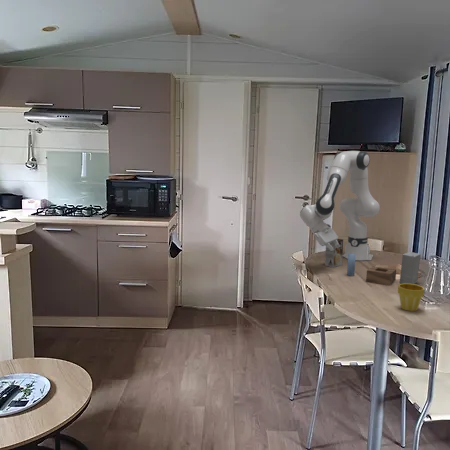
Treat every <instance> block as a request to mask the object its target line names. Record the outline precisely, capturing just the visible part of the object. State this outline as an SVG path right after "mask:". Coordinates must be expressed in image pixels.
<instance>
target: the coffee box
mask: <svg viewBox="0 0 450 450" xmlns="http://www.w3.org/2000/svg"><path fill="white" fill-rule="evenodd" d="M337 241H338V243H339V245H340V247H339V248H337V247H336V245H335V244H334V243H333V242H332V243H330V245H331V246H333V248H334V250H333V251H331V250H330V249H329V248H327V247H326V246H325V259H324V266H326V267H330V268H337V267H340V266H343V256H342V255H344V254H343V252H344V251H343V249H344V239H341V238H338V239H337Z"/></svg>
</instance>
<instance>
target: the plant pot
mask: <svg viewBox="0 0 450 450" xmlns="http://www.w3.org/2000/svg"><path fill="white" fill-rule="evenodd" d="M397 293H398V296H399V302H400V308H401V309H402V310H405V311H409V312H416V311H418V309H419V305H420V303H421V301H422V298H423V297H424V295H425V287H423V286H422V285H419V284H417V283H415V284H408V283H400V284H398V287H397Z"/></svg>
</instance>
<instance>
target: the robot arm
mask: <svg viewBox="0 0 450 450" xmlns="http://www.w3.org/2000/svg"><path fill="white" fill-rule="evenodd" d="M370 157H371V156H370V155H369V153H368V152H366V151H363V150H361V151H360V150H347V151H338V152H337V153H335V155H334V157H333V161H332V162H331V164H330V166H329V168H328V172H327V177H326V179H327V184H326V185H325V186H326V187H325V189H324V191H323V194H322V195H321V196H320V197H319V198H318V199H317V200H316V202H315V204H306V205H304V206H303V207H302V208H301V210H300V211H299V216H300V218H301V220H302V221H303V223H304V224H305V225H306V226H308V228H309V229H310V231H311V233H312V234H313V235H314V238H315V240H316V241H317V242H318V244H319V245H320V247H325V248H326V247H327V248H329V249H330V250H331V251H333V250H334V248H333V246H331V245H330V243H332V242H333V243H334V244H335V245H336V247H337V248H339V247H340V245H339V243H338V241H337V239H339V235H337V232H336V231H335V230H334V229H333V228H332V225H330V224H328V223H326V222H325V220H327V219H329V218H330V217H331V215H332V213H333V211H334V209H335V196H336V194H337V191H338V188H339V187H340V186H342V185H343V184H344V183H345V181H346V179H347V177H348V174H349V190H350V192H352V193H353V195H355V196H356V197H357V198H354V197H353V198H352V197H349V198H344V199H342V200H341V202H340V203H339V210H340V212H341V213H342V214H343V215H344V216H345V218H346V220H347V223H348V236H347V243H346V244H345V247H344V254H343V255H342V258H345V259H347V260H348V254H349V253H353V254H356V256H355V261H372V260H373V257H374V254H371V253H370V252H371V248H370V245H369V244H368V239H369V237H368V236H367V235H368V234H367V233H368V226H367V223H366V222H364V221H363V220H362V218H361V217H366V218H367V217H368V218H370V217H376V216H378V214H379V212H380V210H381V205H380V203H379V202H378V201H377V200H376V199H375V198H374V197H373V195H372V194H371V192H370V188H369V171H368V170H369V169H368V166H369V164H370V161H371V159H370Z"/></svg>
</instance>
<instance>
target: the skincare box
mask: <svg viewBox="0 0 450 450" xmlns="http://www.w3.org/2000/svg"><path fill="white" fill-rule="evenodd" d="M421 256H422V255H421V253H417V252H413V251H408V252H405V253H403V254H402V258H401V265H400V276H399V283H400V284H403V283H408V284H417V283H418V280H419V271H420V264H421V263H420V262H421Z"/></svg>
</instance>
